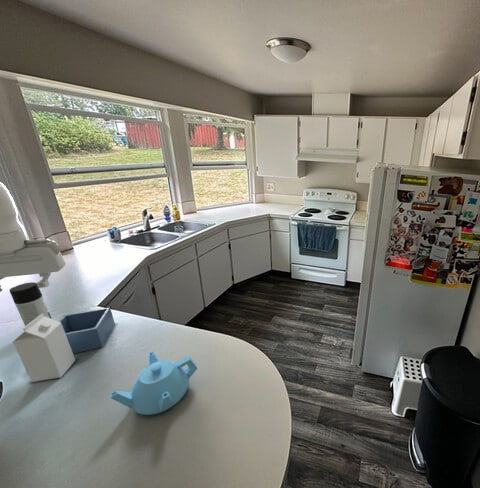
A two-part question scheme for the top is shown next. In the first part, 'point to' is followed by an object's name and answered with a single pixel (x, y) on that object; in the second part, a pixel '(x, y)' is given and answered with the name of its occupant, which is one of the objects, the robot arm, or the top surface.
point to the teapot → (157, 386)
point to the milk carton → (44, 349)
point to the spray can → (29, 302)
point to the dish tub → (88, 329)
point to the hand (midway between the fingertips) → (21, 289)
